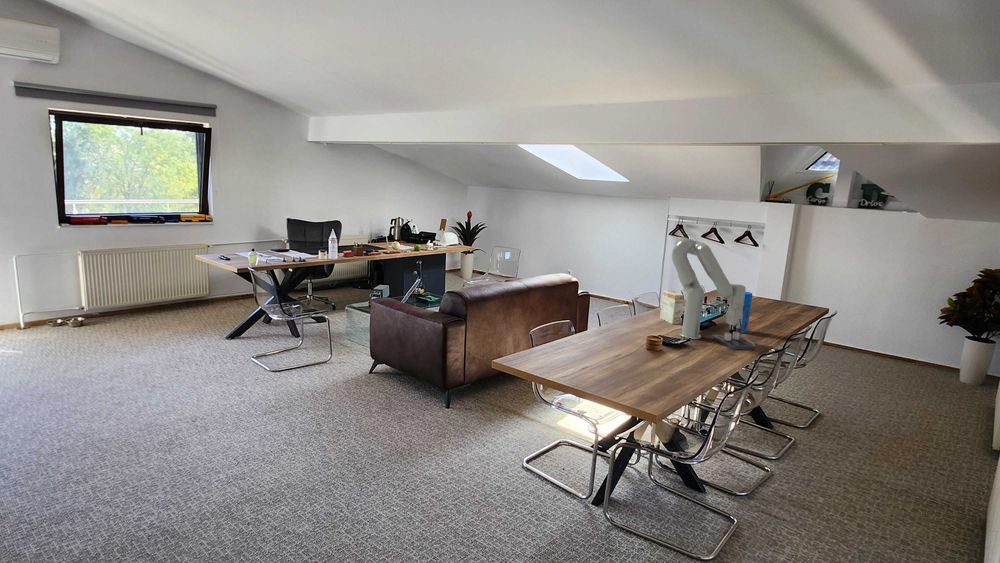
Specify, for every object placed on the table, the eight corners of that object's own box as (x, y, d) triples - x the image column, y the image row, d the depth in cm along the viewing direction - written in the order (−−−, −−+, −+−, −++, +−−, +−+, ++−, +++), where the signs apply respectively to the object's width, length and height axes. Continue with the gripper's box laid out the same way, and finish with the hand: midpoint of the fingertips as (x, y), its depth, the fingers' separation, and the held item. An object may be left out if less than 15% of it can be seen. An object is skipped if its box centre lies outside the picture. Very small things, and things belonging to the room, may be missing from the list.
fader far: (732, 338, 327) (733, 331, 326) (735, 338, 328) (736, 331, 327) (735, 339, 324) (736, 332, 323) (738, 339, 325) (739, 332, 324)
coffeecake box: (681, 324, 363) (684, 295, 360) (671, 324, 361) (675, 295, 358) (668, 318, 377) (671, 290, 374) (659, 318, 375) (662, 290, 372)
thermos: (729, 327, 362) (734, 289, 357) (747, 330, 357) (752, 292, 353) (728, 331, 352) (733, 292, 347) (746, 334, 348) (752, 295, 343)
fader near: (724, 339, 324) (725, 332, 323) (727, 339, 324) (728, 332, 324) (726, 340, 321) (727, 333, 320) (730, 340, 321) (731, 333, 321)
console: (710, 338, 334) (711, 332, 333) (732, 338, 336) (733, 332, 335) (731, 349, 312) (732, 343, 312) (754, 349, 315) (755, 343, 314)
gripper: (723, 302, 333) (719, 332, 336) (737, 308, 318) (733, 339, 322) (734, 302, 334) (730, 332, 337) (749, 308, 320) (745, 339, 323)
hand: (732, 335), depth 329 cm, fingers closed
